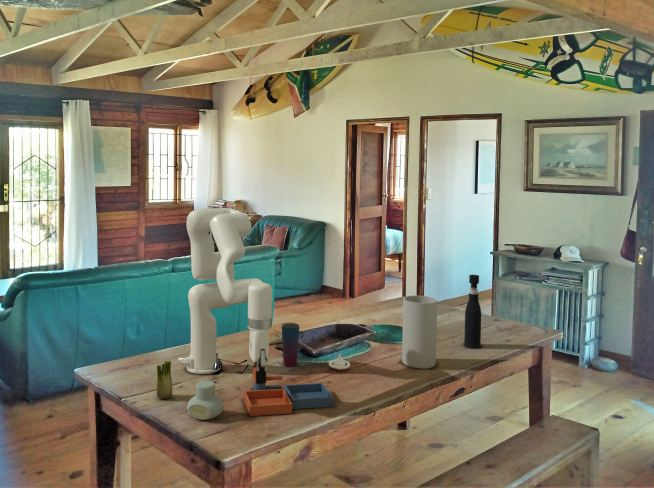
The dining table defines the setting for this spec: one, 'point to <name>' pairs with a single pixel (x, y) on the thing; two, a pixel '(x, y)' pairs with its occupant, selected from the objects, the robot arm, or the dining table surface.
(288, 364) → the cup
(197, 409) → the air freshener
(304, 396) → the slate bin
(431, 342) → the cylinder vase
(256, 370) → the orange toy mallet
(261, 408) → the terracotta bin
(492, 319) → the dining table surface
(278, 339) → the jawbone
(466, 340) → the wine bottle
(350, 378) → the dining table surface
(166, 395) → the fennel bulb
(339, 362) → the ring around a ball
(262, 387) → the blue handled cylinder
